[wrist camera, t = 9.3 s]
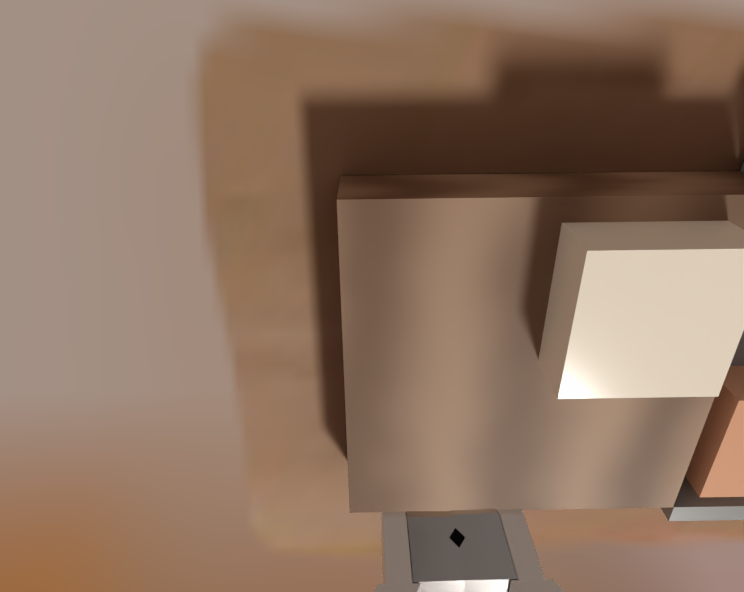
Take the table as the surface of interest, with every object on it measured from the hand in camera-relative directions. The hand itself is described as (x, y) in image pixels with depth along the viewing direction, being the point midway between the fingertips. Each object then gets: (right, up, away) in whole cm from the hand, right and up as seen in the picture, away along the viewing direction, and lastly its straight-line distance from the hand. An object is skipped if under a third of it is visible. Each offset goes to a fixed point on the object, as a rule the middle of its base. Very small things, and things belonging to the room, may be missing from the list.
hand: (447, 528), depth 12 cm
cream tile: (+8, +5, +9) cm, 13 cm away
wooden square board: (+5, +3, +14) cm, 15 cm away
